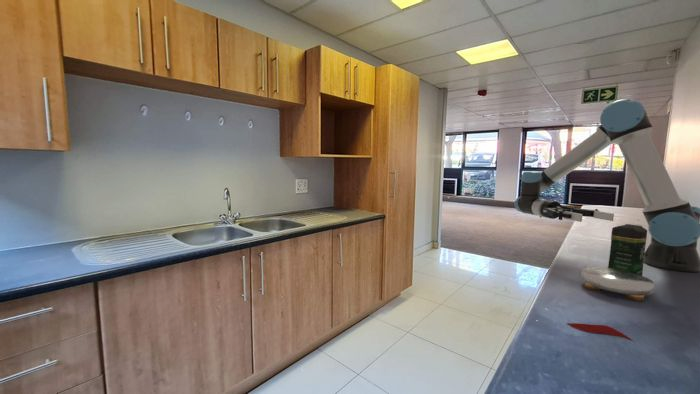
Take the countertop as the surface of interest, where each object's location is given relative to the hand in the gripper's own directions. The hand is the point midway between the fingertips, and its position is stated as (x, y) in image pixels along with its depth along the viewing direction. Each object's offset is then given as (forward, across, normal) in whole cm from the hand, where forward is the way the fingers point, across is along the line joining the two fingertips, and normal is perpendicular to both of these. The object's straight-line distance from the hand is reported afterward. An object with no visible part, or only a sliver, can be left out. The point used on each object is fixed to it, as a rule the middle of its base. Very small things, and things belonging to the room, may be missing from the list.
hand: (597, 217), depth 104 cm
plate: (+16, +12, -19) cm, 28 cm away
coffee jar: (+10, 0, -19) cm, 22 cm away
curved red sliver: (+34, +39, -20) cm, 55 cm away
